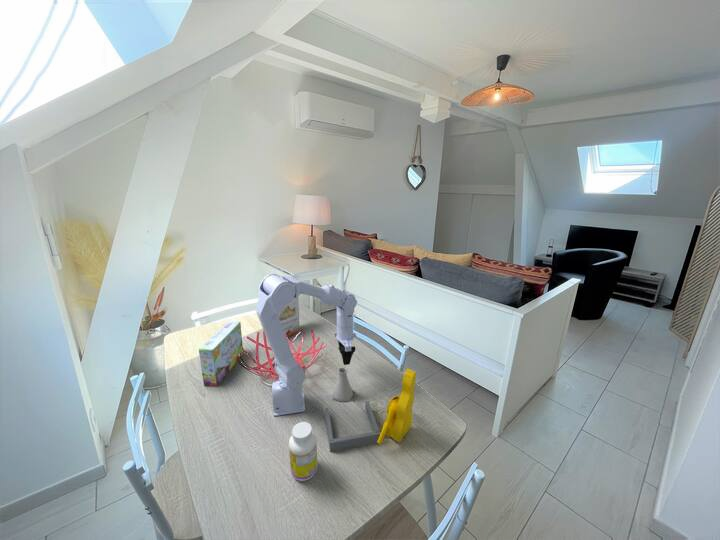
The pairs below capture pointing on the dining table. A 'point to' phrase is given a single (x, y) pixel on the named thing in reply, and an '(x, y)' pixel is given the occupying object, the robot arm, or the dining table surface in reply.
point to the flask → (342, 387)
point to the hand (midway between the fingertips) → (344, 357)
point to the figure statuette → (400, 410)
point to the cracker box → (290, 317)
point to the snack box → (221, 353)
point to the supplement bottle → (303, 452)
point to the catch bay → (355, 439)
